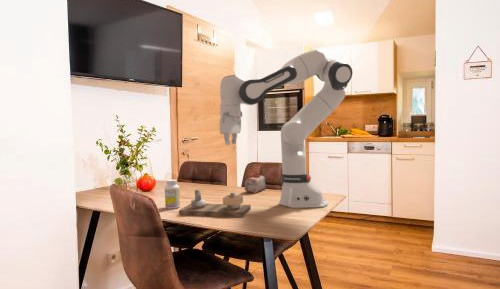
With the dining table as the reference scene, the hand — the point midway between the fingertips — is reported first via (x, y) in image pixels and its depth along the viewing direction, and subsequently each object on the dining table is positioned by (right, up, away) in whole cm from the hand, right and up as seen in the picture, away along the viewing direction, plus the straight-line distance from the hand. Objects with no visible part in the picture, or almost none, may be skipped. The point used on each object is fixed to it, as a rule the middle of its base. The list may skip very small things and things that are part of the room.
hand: (230, 144), depth 158 cm
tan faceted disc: (+1, -25, -4) cm, 26 cm away
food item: (+12, -27, +45) cm, 54 cm away
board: (-6, -30, -2) cm, 30 cm away
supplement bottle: (-28, -30, +9) cm, 41 cm away
